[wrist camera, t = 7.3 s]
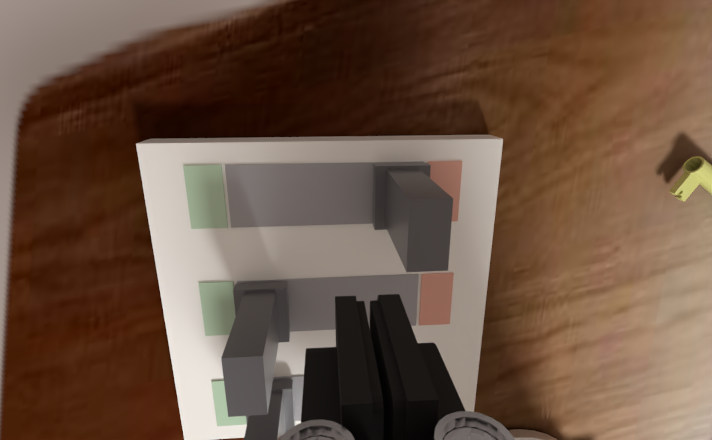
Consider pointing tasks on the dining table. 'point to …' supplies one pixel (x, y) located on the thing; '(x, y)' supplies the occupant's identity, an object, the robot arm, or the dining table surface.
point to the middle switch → (254, 346)
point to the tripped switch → (413, 214)
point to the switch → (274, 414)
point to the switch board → (307, 250)
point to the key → (693, 178)
